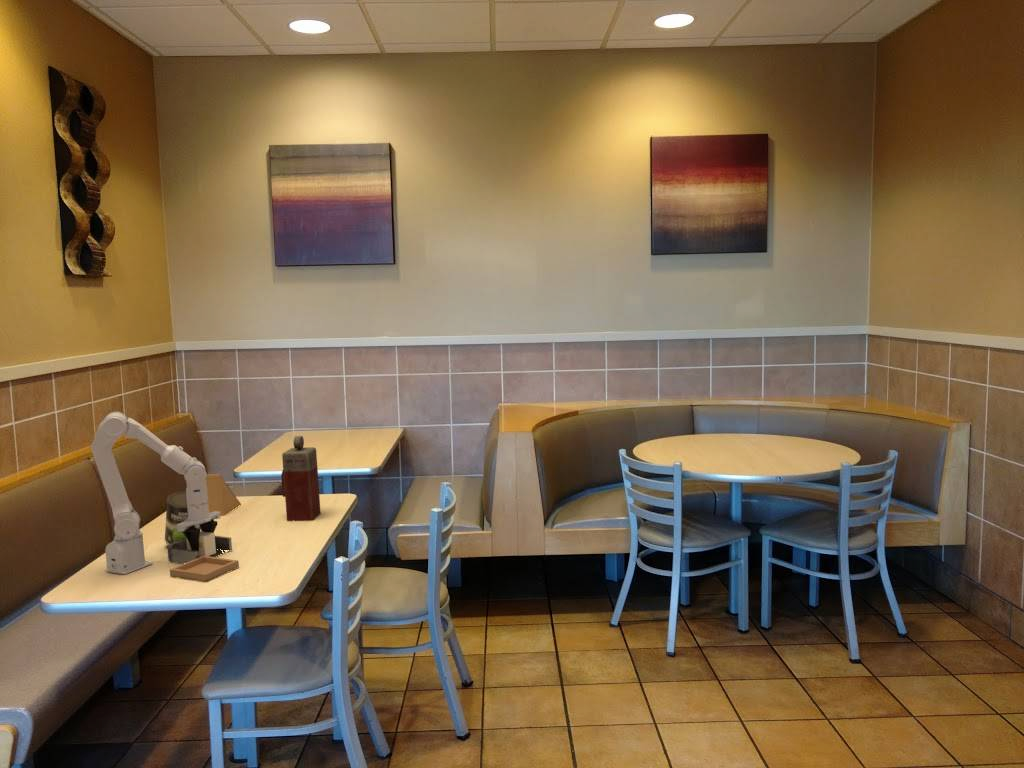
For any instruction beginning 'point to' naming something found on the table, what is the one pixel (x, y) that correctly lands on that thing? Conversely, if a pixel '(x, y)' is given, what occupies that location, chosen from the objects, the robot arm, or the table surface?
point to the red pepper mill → (300, 482)
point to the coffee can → (176, 516)
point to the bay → (182, 555)
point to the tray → (204, 568)
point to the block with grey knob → (205, 544)
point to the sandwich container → (220, 495)
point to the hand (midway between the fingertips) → (201, 548)
